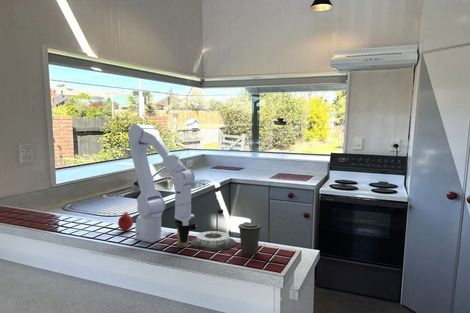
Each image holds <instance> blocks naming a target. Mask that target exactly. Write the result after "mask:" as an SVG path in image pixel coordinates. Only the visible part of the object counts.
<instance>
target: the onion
mask: <svg viewBox="0 0 470 313" xmlns="http://www.w3.org/2000/svg"><path fill="white" fill-rule="evenodd" d="M133 224H134V220H133V218H132V217H131V215H129V214H128V211H125V212H124V214H123V215H121V216H120V217H119V219H118V220H117V225H118V228H119V229H121V231H123V232H127V231H129V230H130V229H131V228H132V227H133Z"/></svg>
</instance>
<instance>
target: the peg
mask: <svg viewBox="0 0 470 313" xmlns="http://www.w3.org/2000/svg"><path fill="white" fill-rule="evenodd" d="M176 239H177V240H176V246H177V247H178V248H186V247H188V246H189V238H188V239H187V243H181V242H180V236H179V231H178V227H177V226H176Z"/></svg>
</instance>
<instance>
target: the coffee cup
mask: <svg viewBox="0 0 470 313" xmlns="http://www.w3.org/2000/svg"><path fill="white" fill-rule="evenodd" d="M237 228H238V229H239V239H240V249H241V254H243V255H245V256H255V255H257V254H258V250H259V249H258V248H259V243H260V242H259V241H260V236H261V235H260V234H261V229H262V225H261V224H258V223H255V222H248V221H245V222H243V223H240V224H239V225H238V226H237Z"/></svg>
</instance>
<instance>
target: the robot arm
mask: <svg viewBox="0 0 470 313" xmlns="http://www.w3.org/2000/svg"><path fill="white" fill-rule="evenodd" d="M127 136H128V141H129V151H130V155H131V158H132V162H133V166H134V170H135V174H136V178H137V182H138V186H139V190H140V194H139V195H138V196H137V198H136V201H137V207H136V210H137V212H138V214H139V215H138V216H137V218H136V219H135V233H134V234H135V236H134V237H133V240H138V241H143V242H148V243H155V242H158V241H160V240H162V239H166V238H167V236H166V235H162V215H163V212H164V211H165V209H166V207H167V206H166V201H165V200H164V198H163V196H162V194H161V192H160V191H158V190H157V189H156V186H155V183H154V179H153V174H152V172H151V167H150V163H149V159H148V157H147V152H146V150H147V149H148V148H149V147H150V146H152V147H153V149H154V150H155V151H156V152H157V153H158V154H159V156H160V157H161V158H162V164H163V166H164V167H165V169H166V170H167V172H168V173H169V174H170V175H171V182H172V185H173V186H174V187H173V189H174V193H175V194H174V199H175V200H174V202H175V203H174V219H173V220H174V223H175V226H176V228H177V227H178V231H179V236H180V242H181V243H187V239H188V240H189V234H190V232H191V231H190V230H191V229H192V227H193V223H192V222H190V220H192V218H195V214H193V213H192V184H194V182H195V179H196V178H195V174H194V172H193V170H192V169H190V168H187V167H186V166H185V165H184V164H183V162H182V161H181V160H180V156H179V155H176V154H175V153H172V152H171V151H170V150H169V148H168V147H167V145H166V144H165V142H164V141H163V139H162V137H161V136H160V131H159V130H158V129H157V127H156V126H155V125H154V124H153V125H152V124H149V125H148V124H137V123H133V124H132V125H131V126H130V127H129V129H128V132H127Z"/></svg>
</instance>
